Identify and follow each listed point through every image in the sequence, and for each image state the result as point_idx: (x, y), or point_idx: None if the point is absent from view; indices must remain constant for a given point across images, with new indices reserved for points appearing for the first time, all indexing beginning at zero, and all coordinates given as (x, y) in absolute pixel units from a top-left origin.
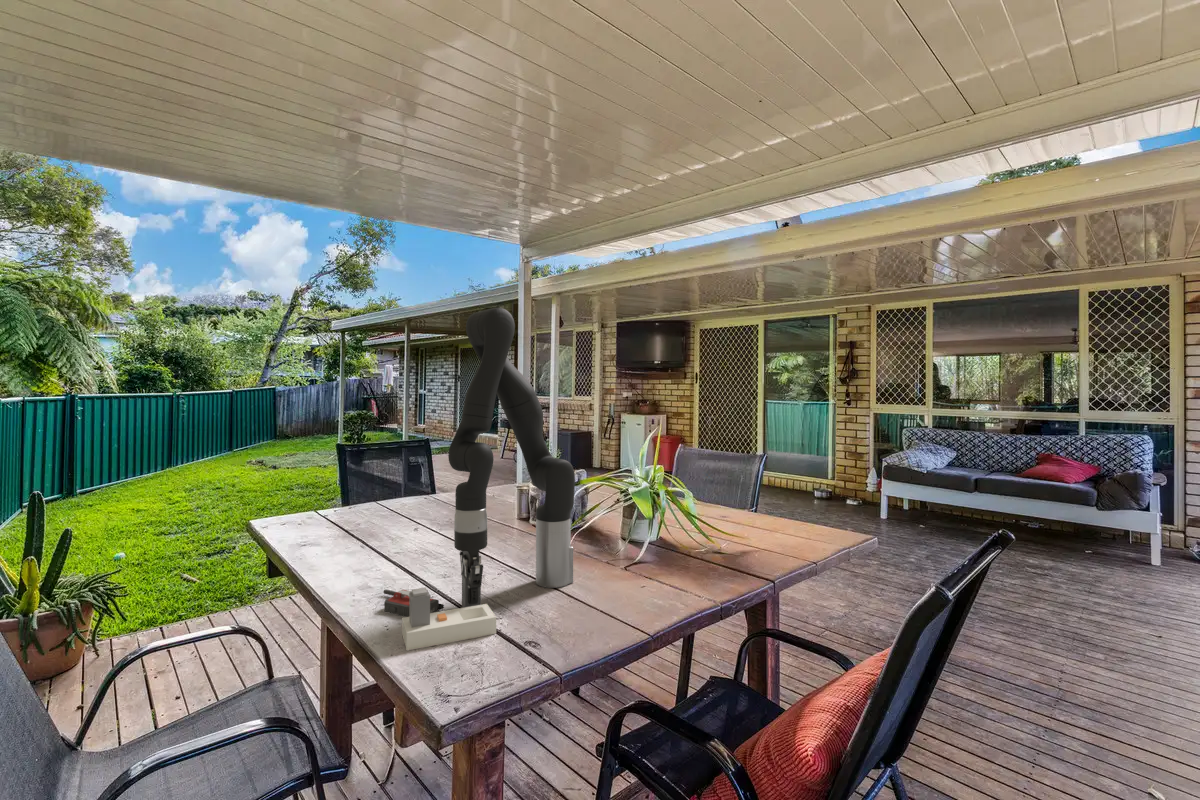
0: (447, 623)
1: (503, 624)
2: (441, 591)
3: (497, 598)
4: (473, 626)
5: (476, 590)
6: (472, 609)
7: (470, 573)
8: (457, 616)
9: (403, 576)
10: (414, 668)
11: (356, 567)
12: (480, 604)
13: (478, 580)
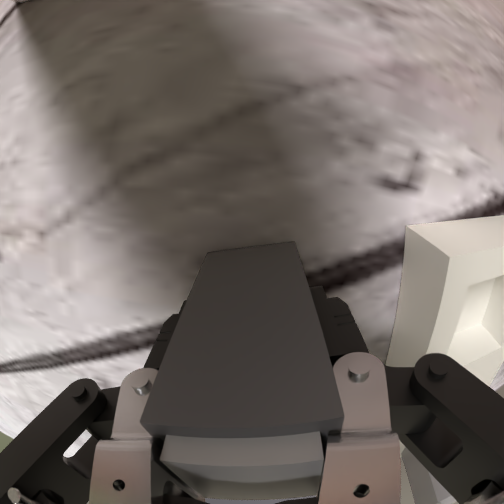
0: (484, 382)
1: (469, 166)
2: (59, 350)
3: (129, 132)
4: None
5: (366, 352)
6: (454, 326)
7: (272, 489)
8: (471, 369)
9: (13, 384)
10: (495, 378)
11: (14, 415)
12: (299, 257)
13: (440, 411)
